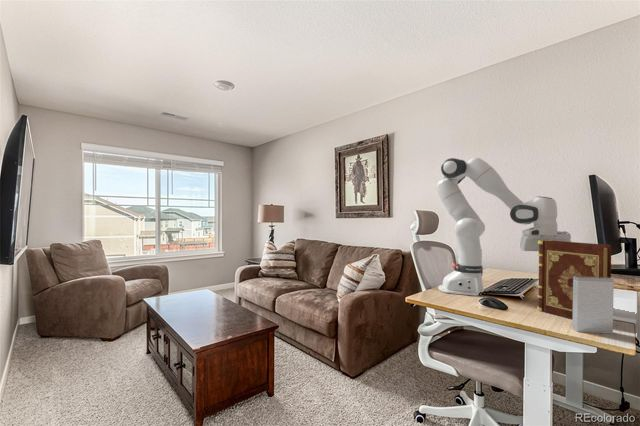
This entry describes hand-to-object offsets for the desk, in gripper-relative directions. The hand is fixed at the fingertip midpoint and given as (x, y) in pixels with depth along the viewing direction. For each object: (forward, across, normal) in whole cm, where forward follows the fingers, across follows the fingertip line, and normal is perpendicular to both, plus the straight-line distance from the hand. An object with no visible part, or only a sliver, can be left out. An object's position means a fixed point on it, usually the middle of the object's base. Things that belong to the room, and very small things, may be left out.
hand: (545, 261), depth 139 cm
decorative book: (+20, +1, +18) cm, 27 cm away
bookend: (+20, +3, +34) cm, 39 cm away
